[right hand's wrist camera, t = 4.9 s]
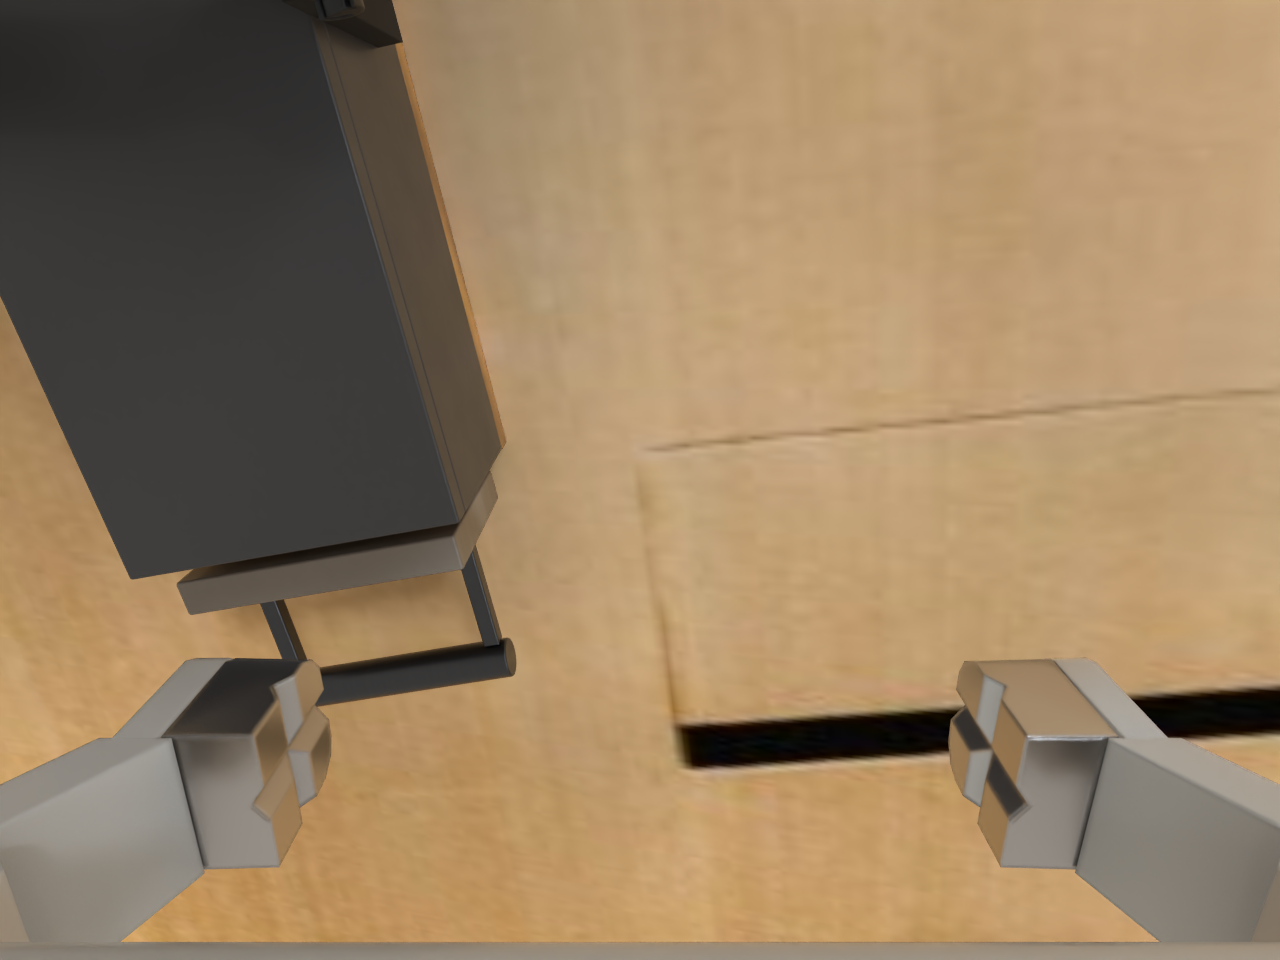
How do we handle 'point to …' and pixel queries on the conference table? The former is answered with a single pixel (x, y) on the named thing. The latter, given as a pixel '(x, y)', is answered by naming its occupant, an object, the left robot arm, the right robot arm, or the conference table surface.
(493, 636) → the drawer
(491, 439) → the cabinet
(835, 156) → the conference table surface
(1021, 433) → the conference table surface
